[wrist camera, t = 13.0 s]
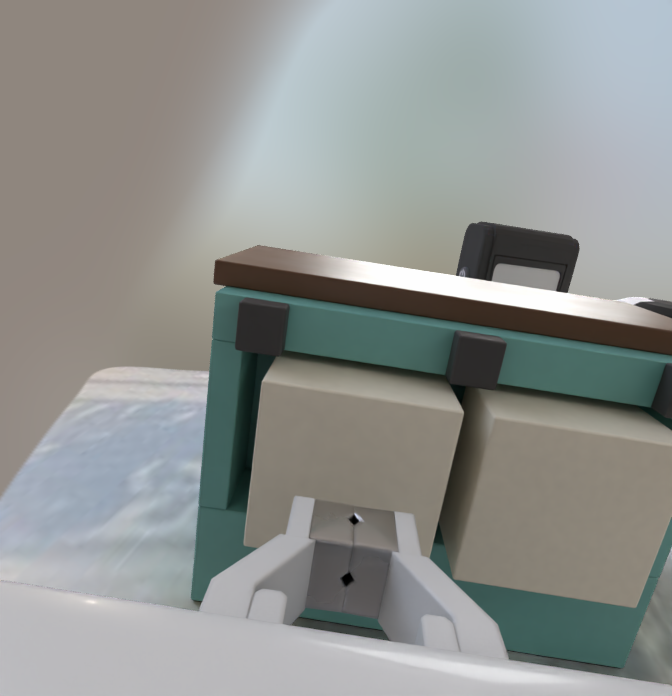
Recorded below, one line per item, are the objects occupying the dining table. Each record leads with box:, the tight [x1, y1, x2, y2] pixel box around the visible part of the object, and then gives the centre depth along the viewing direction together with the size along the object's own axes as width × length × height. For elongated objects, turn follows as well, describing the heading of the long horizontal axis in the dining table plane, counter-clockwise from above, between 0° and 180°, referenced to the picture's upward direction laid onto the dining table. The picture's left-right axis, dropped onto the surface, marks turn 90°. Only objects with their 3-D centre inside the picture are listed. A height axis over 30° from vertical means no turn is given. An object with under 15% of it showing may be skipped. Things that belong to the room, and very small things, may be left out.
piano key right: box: [439, 383, 672, 608], centre depth 16 cm, size 4×6×5 cm, turn 87°
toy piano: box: [191, 245, 672, 668], centre depth 20 cm, size 10×17×12 cm, turn 87°
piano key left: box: [243, 350, 464, 558], centre depth 16 cm, size 4×6×5 cm, turn 87°
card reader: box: [456, 222, 579, 293], centre depth 42 cm, size 9×4×15 cm, turn 104°
